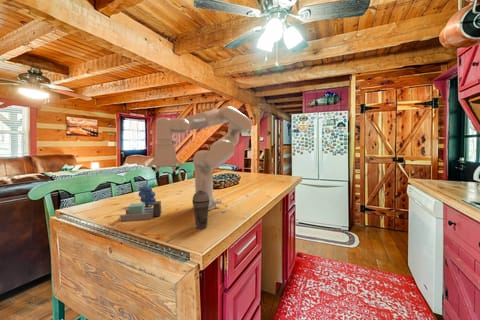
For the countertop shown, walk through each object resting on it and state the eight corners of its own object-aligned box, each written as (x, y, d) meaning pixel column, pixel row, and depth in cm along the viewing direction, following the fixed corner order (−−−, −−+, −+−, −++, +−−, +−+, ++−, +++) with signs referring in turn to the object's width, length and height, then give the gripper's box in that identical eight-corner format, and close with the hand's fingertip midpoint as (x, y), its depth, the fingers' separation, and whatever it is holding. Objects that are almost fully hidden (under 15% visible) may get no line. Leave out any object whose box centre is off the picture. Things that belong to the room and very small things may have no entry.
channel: (156, 212, 118) (155, 207, 117) (152, 218, 107) (152, 213, 107) (126, 214, 115) (126, 209, 114) (120, 221, 104) (120, 215, 104)
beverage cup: (193, 224, 100) (192, 179, 98) (210, 223, 101) (209, 178, 99) (191, 230, 93) (190, 182, 91) (209, 230, 93) (209, 181, 92)
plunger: (161, 212, 115) (161, 200, 115) (160, 215, 111) (159, 203, 110) (145, 213, 114) (145, 201, 113) (143, 216, 109) (143, 204, 109)
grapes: (133, 207, 127) (132, 185, 126) (142, 204, 134) (141, 183, 133) (150, 209, 123) (149, 187, 122) (158, 205, 130) (158, 185, 129)
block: (144, 214, 114) (144, 202, 114) (142, 218, 108) (141, 206, 108) (131, 215, 113) (131, 203, 113) (128, 219, 107) (128, 206, 107)
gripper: (183, 143, 117) (184, 178, 118) (147, 143, 113) (148, 179, 114) (183, 143, 109) (183, 180, 111) (144, 143, 106) (145, 181, 107)
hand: (166, 179), depth 112 cm, fingers open, 6 cm apart
